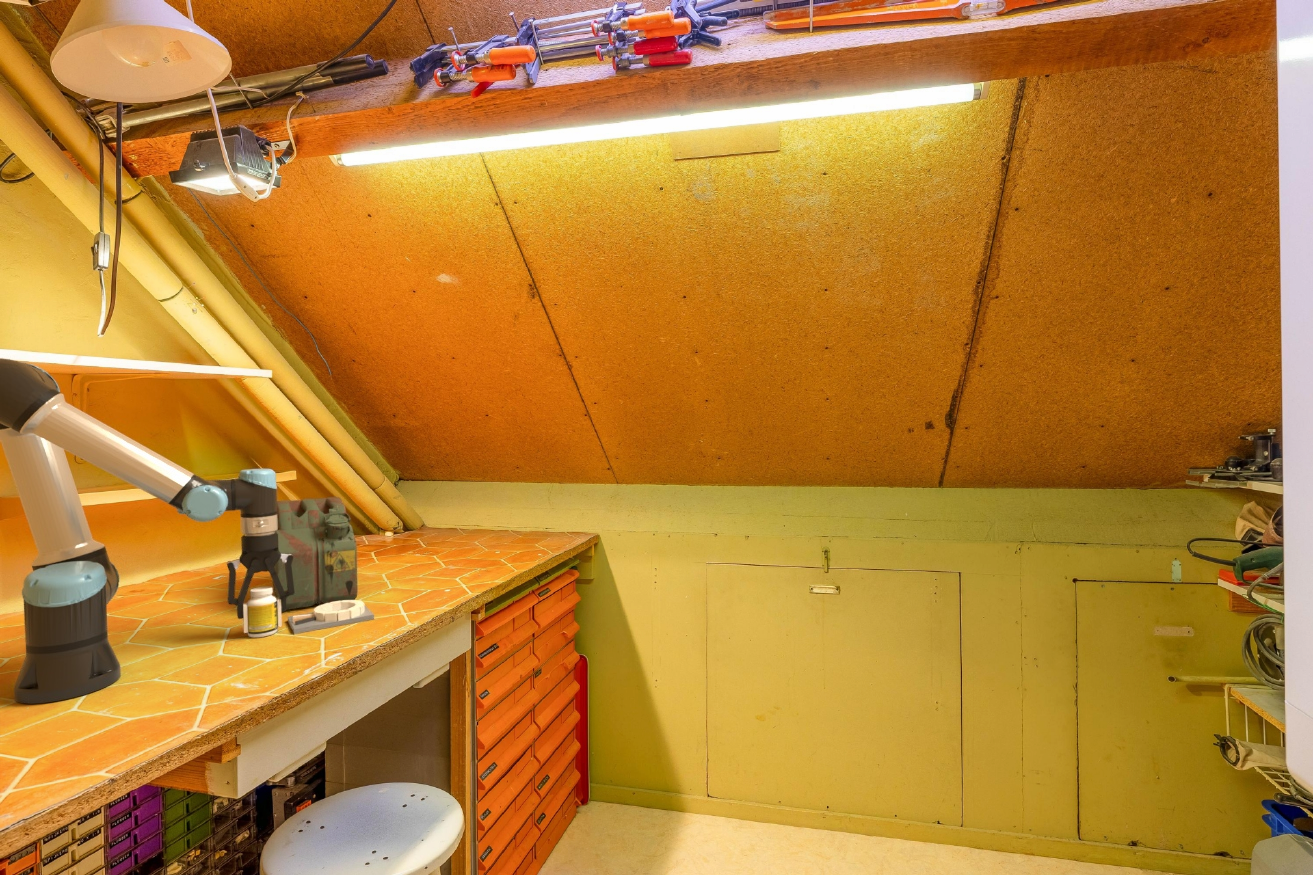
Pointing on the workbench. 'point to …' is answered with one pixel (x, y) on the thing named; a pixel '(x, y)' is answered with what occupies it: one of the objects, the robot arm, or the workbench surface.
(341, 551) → the fuel can
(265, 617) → the pill bottle
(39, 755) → the workbench surface
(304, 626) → the junction plate
